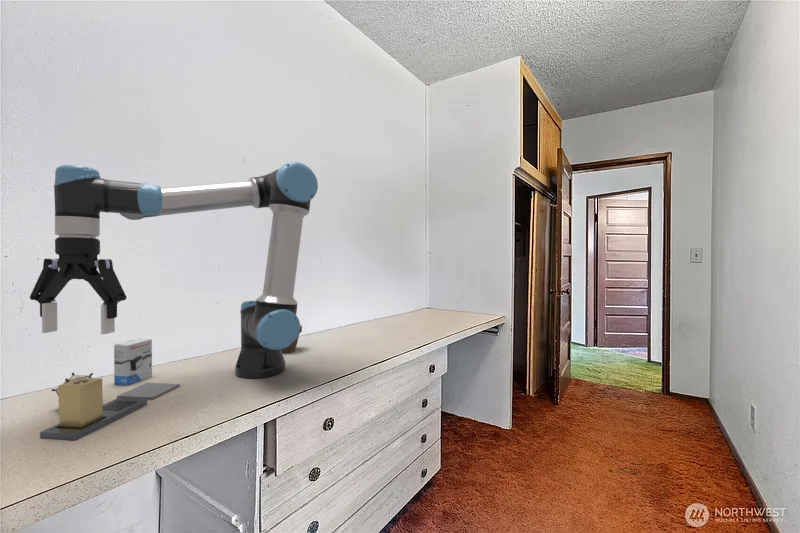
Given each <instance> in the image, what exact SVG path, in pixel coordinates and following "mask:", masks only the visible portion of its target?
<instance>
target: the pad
mask: <svg viewBox="0 0 800 533" xmlns="http://www.w3.org/2000/svg"><path fill="white" fill-rule="evenodd" d="M180 387H181V384H180V383H161V382H146V383H144V384H142V385H139V386H136V387H134V388H132V389H130V390H127V391H125V392H122V393H120V394H118V395H117V396H116V399H117V398H121V399H128V398H129V399H141V400H147V399H148V400H147V401H149V400H151V401H152V400H155V399H157V398H159V397H161V396H163V395H165V394H167V393H170V392H171V391H173V390H176V389H177V388H180Z"/></svg>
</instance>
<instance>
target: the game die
mask: <svg viewBox="0 0 800 533" xmlns="http://www.w3.org/2000/svg"><path fill="white" fill-rule="evenodd" d="M93 374H94V373H93V372H91V373H89V375H85V374H84V375H81V374H80V375H77V374H75V372H72V373H71V376H70V377H69V378H65V379H64V382H63V383H62V384H64V383H67V382H70V381H73V380H76V379H79V378H93V377H92V376H93ZM50 391H52V392H56V395H57V396H58V397H59V386H58V387H57V388H52V389H50ZM57 402H58V403H59V400H58V401H57Z"/></svg>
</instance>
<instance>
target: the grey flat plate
mask: <svg viewBox="0 0 800 533" xmlns="http://www.w3.org/2000/svg"><path fill="white" fill-rule="evenodd" d="M147 405H148V400H147V399H128V398H117V397H116V398H115V399H113V400H111V401H109V402H106V403H104V404H103V419H102V420H100V421H98V422H96V423H94V424H92V425H90V426H87V427H85V428H83V429H81V430H76V429H60V428H59V423H58V424H56V425H53V426H51V427H48V428H47V429H44V430H42V431H39V438H40V439H49V440H64V441H77V440H79V439H81V438H84V437H85V436H87V435H90V434H91V433H93V432H95V431H97V430H99V429H101V428H103V427H105V426H107V425H109V424H111V423H113V422H115V421H116V420H119V419H121V418H123V417H125V416H127V415H129V414H131V413H133V412H135V411H137V410H138V409H139V410H140V409H141V408H143V407H145V406H147Z"/></svg>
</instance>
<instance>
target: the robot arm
mask: <svg viewBox="0 0 800 533" xmlns="http://www.w3.org/2000/svg"><path fill="white" fill-rule="evenodd" d="M54 173H55V174H54V175H55V176H54V184H53V189H54V190H53V192H54V234H55V235H56V236H58V237H56V238H54V253H55V254H56V255H58V258H44V259H43V265H42V266H43V267H42V269H41V272H40V274H39V275H38V276H39V277H38V278H37V280H36V282H35V285H34V287H33V289H32V291H31V293H30V296H29V299H30V300H31V301H36V302H37V303H39V316H40V318H41V334H48V333H53V332H57V331H58V302H57V300H56V298H57V297H58V295H59V294H60V293H61V292H62V290H63V289H64V288H65V287H66V286H67V285H68V283H69V282H70V281H72V280H83V281H85V282H87V283H88V284H89V285H90V286H91V288H93V290H94V291H95V293H96V294H97V295H98V297H99V298H100V299H101V300H102V301H103V303H102V304H100V334H101V335H109V334H112V333H115V330H116V329H115V326H116V325H115V320H116V318H117V317H118V304H119V302H122V301H125V300H127V295H126V293H125V291H124V289H123V287H122V285H121V283H120V282H121V281H120V280H119V278H118V276H117V275H116V272H115V270H114V265H113V264H114V263H113V260H112V259H111V258H109V259H108V258H107V259H106V258H104V259H103V258H100V259H99V258H98V255H100V253H101V240H100V239H99V238H97V237H100V234H101V233H100V232H101V231H100V230H101V229H100V225H101V224H100V222H101V221H100V218H101V215H100V214H101V213H113V214H119V215H121V217H123V218H126V219H128V220H130V221H136V220H137V221H138V220H142V219H145V218H154V217H160V216H161V217H162V216H169V215H177V214H185V213H186V214H189V213H197V212H204V211H205V212H206V211H214V210H223V209H231V208H240V207H241V208H242V207H243V208H244V207H250V206H252V207H253V208H254V209H262V208H263V209H264V208H269V209H270V210H271V212H272V218H271V219H272V220H271V221H272V222H271V225H270V226H271V228H270V229H271V230H270V236H269V242H268V243H269V244H268V249H267V258H266V264H265V266H266V267H265V274H264V281H263V290H262V294H261V295H260V296H259V297H258V298H256V299H255V300H246V301H243V302H242V303H241V304H240V310H239V313H240V352H239V355H238V357H237V360H236V363H235V367H234V373H235V376H237V377H238V378H244V379H260V378H268V377H272V376H276V375H279V374H281V373H283V372H284V371H285V370H286V360H285V357H284V355H283V354H284V353H282V351H281V349H283V348H286V347H288V346H289V345H291V344H292V343H293V342H294V341H295V340H296V338H297V337H298V335H299V336H300V334H299V332H300V325H301V322H300V320H299V318H298V316H297V313H298V312H297V311H298V304H299V303H298V301H297V300H296V299H295V298H294V293H295V284H296V278H297V276H296V275H297V271H298V270H297V269H298V262H299V261H298V260H299V253H300V246H301V238H302V230H303V221H304V218H305V216H307V215H309V213H310V208H311V201H312V200H313V198H314V197H315V196H316V194H317V192H318V188H319V183H318V179H317V177H316V175H315V173H314V172H313V169H311V167H309V166H308V165H306V164H303V163H301V162H297V161H294V162H293V161H291V162H288V163H284V164H283V165H280V167H279V168H277V169H276V170H274V171H271V172H270V173H267V174H265V175H261V176H260V175H259V176H252V177H249V178H248V179H247V180H246V181H245V180H244V181H232V182H231V181H230V182H219V183H207V184H193V185H191V184H190V185H179V186H167V187H160V186H159V185H156V184H151V183H150V184H149V183H146V182H134V181H122V180H113V179H112V180H111V179H107V178H106V179H105V178H101V176H100V172H99V171H98V169H96V168H93V167H87V166H83V165H74V164H62V165H59V166H58V167H56V169H55V172H54ZM298 338H299V337H298Z"/></svg>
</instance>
